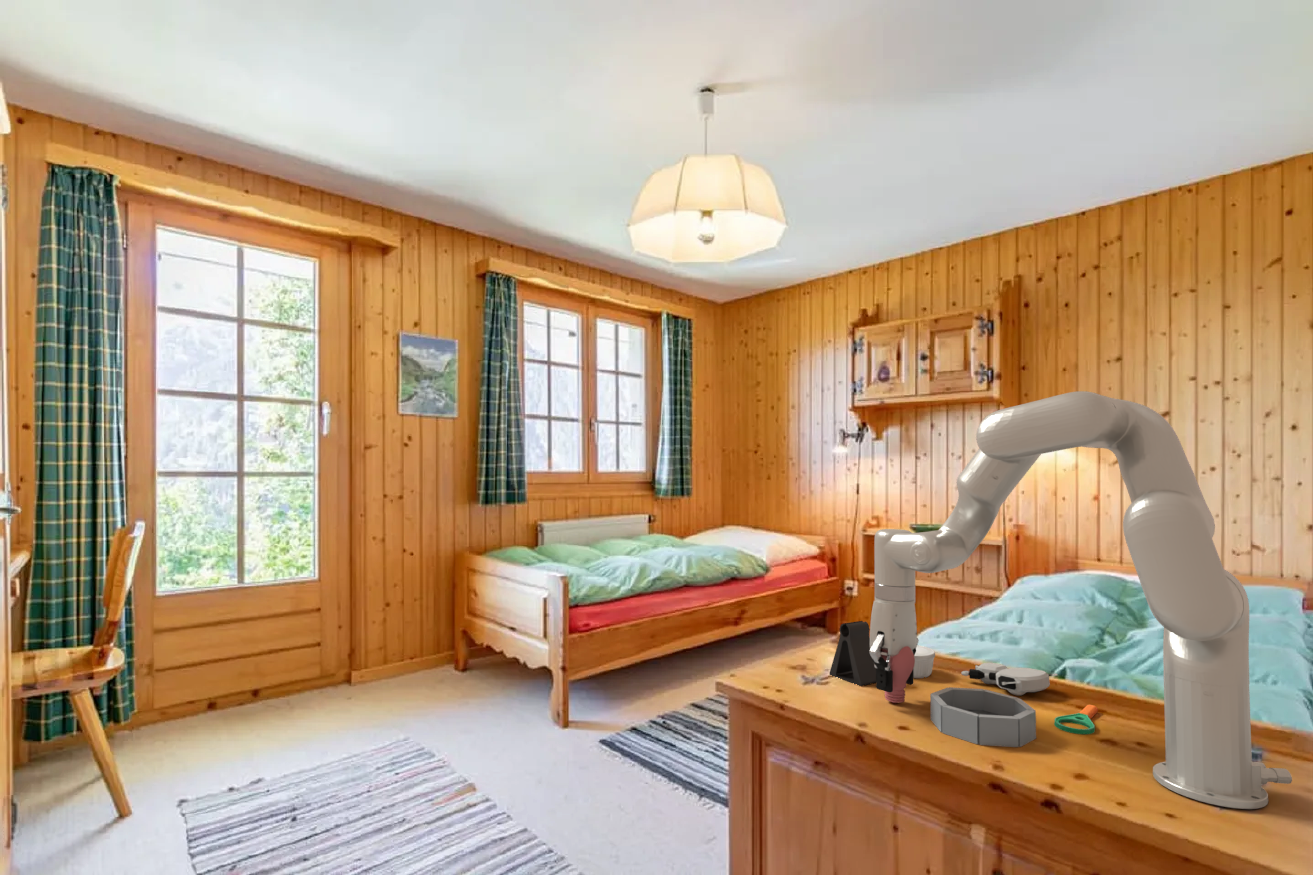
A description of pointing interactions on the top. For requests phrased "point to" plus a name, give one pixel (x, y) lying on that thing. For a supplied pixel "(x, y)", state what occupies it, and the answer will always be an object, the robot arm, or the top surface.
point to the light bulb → (900, 673)
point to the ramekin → (923, 661)
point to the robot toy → (1011, 677)
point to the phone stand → (854, 655)
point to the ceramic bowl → (983, 717)
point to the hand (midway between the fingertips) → (895, 685)
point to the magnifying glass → (1078, 721)
